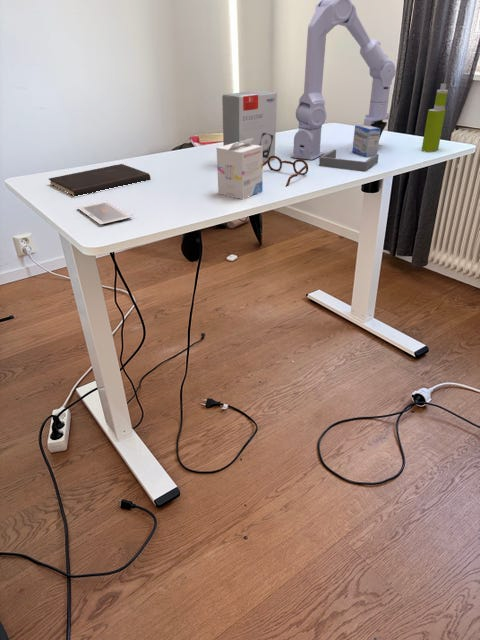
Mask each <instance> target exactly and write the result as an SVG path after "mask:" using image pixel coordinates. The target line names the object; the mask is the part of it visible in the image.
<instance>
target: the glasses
mask: <svg viewBox="0 0 480 640" xmlns="http://www.w3.org/2000/svg"><path fill="white" fill-rule="evenodd" d="M271 158H275V160H277V161H278V162H279V168H273V167H272V165H271V161H270V159H271ZM299 162H300V163H303V164H304V166H302V168H300V169H299V170H297V167H296V164H297V163H299ZM283 164H288V165H289V164H290V165H292V170H293V172H294V173H295V174H294V173H293V174H292V175H290V176H289V177H288V179H287V181H286V184H285V188H288V187H289V185H290V182H291V181H292V180H291V179H293V178H296V177H298V176H300V175H302V176H305V175H307V174H308V172H309V164H308V163H307V162H306V160H305V159H301V158H296V159H295V160H294V161H290V160H282V159H281V158H280V157H279V156H278V155H275V156H270V157H269V158H268V160H267V161H266V162H263V167H264V166H266V165H267V166H268V169H270V171H272V170H274V171H273V172H280V171H281V170H282V168H283ZM304 170H305V171H304ZM303 171H304V172H303ZM287 186H288V187H287Z"/></svg>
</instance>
